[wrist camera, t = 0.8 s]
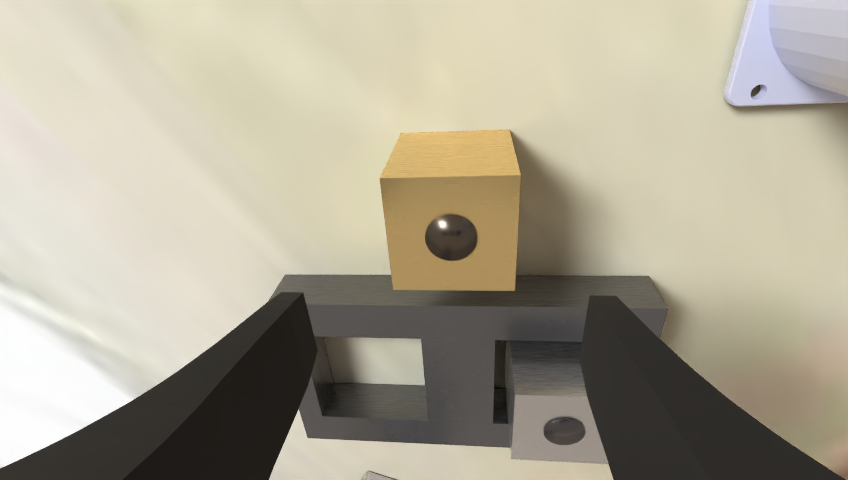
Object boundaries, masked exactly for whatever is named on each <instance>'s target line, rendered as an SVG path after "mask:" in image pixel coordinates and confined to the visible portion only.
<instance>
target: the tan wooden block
mask: <svg viewBox="0 0 848 480" xmlns="http://www.w3.org/2000/svg"><path fill="white" fill-rule="evenodd" d="M520 184H521V173H520V169H519V165H518V162H517V158H516V154H515V150H514V146H513V142H512V138H511V134H510V130H481V131H451V132H421V133H401V134H400V136H399V138H398V140H397V143H396V145H395V147H394V149H393V151H392V153H391V155H390V157H389V160H388V162H387V164H386V166H385V168H384V170H383V172H382V174H381V177H380V185H381V193H382V201H383V210H384V218H385V226H386V234H387V243H388V251H389V259H390V268H391V276H392V284H393V290H474V291H515V279H516V260H517V241H518V222H519V203H520Z"/></svg>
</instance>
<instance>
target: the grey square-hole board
mask: <svg viewBox="0 0 848 480" xmlns="http://www.w3.org/2000/svg"><path fill="white" fill-rule="evenodd" d="M281 292H303V293H304V297H305V301H306V305H307V309H308V313H309V317H310V321H311V325H312V329H313V333H314V337H315V341H316V345H317V349H318V351H317V355H316V359H315V363H314V367H313V370H312V374H311V377H310V381H309V384H308V387H307V389H306V392H305V394H304V397H303V399H302V402H301V404H300V406H299V411H300V414H301V417H302V421H303V424H304V427H305V430H306V434H307V437H308V438H320V439H341V440H361V441H382V442H403V443H424V444H445V445H466V446H487V447H508V448H510V438H509V425H508V413H507V400H506V388H494V369H495V340H515V341H565V342H582V339H583V333H584V327H585V321H586V314H587V308H588V302H589V296H590V295H603V296H617V297H618V298H619V299H620V300H621V301H622V302H623V303H624V304H625V305H626V306H627V307H628V308H629V309H630V310H631V311H632V312H633V313H634V314H635V315H636V316H637V317H638V318H639V319H640V320H641V321H642V322H643V323H644V324H645V325H646V326H647V327H648V328H649V329H650V330H651V331H652V332H653V333H654V334H655V335H656V336H657V337H658V338H659V339H660V335H661V331H662V328H663V324H664V321H665V317H666V313H667V310H668V308H667V306H666V305H665V303H664V301H663V300H662V298H661V296H660V295H659V293H658V291H657V290H656V288H655V286H654V285H653V283H652V281H651V280H650V278H649V276H516V279H515V291H474V290H393V284H392V276H391V275H285V276H284V277H283V279H282V281H281V282H280V284H279V285H278V287H277V288H276V290H275V292H274V293H273V295H272V296H271V298H270V299H269V301H270V300H271V299H272V298H274V297H275V296H276V295H278V294H279V293H281ZM269 301H268V302H269ZM323 337H368V338H417V339H421V342H422V354H423V365H424V377H425V386H415V385H384V384H354V383H334V381H333V377H332V373H331V369H330V364H329V360H328V356H327V352H326V347H325V343H324V339H323Z"/></svg>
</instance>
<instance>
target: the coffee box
mask: <svg viewBox="0 0 848 480" xmlns="http://www.w3.org/2000/svg"><path fill="white" fill-rule="evenodd" d="M362 480H394V479H391V478H388V477H385V476H382V475H379V474H376V473H373V472H369V471H368V472H366V474H365V475H364V477H363V478H362Z"/></svg>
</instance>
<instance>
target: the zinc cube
mask: <svg viewBox="0 0 848 480" xmlns="http://www.w3.org/2000/svg"><path fill="white" fill-rule="evenodd" d="M581 345H582V342H565V341H515V340H506V362H505V388H506V400H507V413H508V425H509V438H510V451H511V459H520V460H540V461H559V462H579V463H598V464H609V463H608V460H607V457H606V454H605V451H604V448H603V445H602V442H601V439H600V436H599V433H598V430H597V426H596V423H595V420H594V417H593V414H592V411H591V408H590V404H589V401H588V398H587V394H586V389H585V384H584V379H583V374H582V368H581V363H580V351H581Z"/></svg>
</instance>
